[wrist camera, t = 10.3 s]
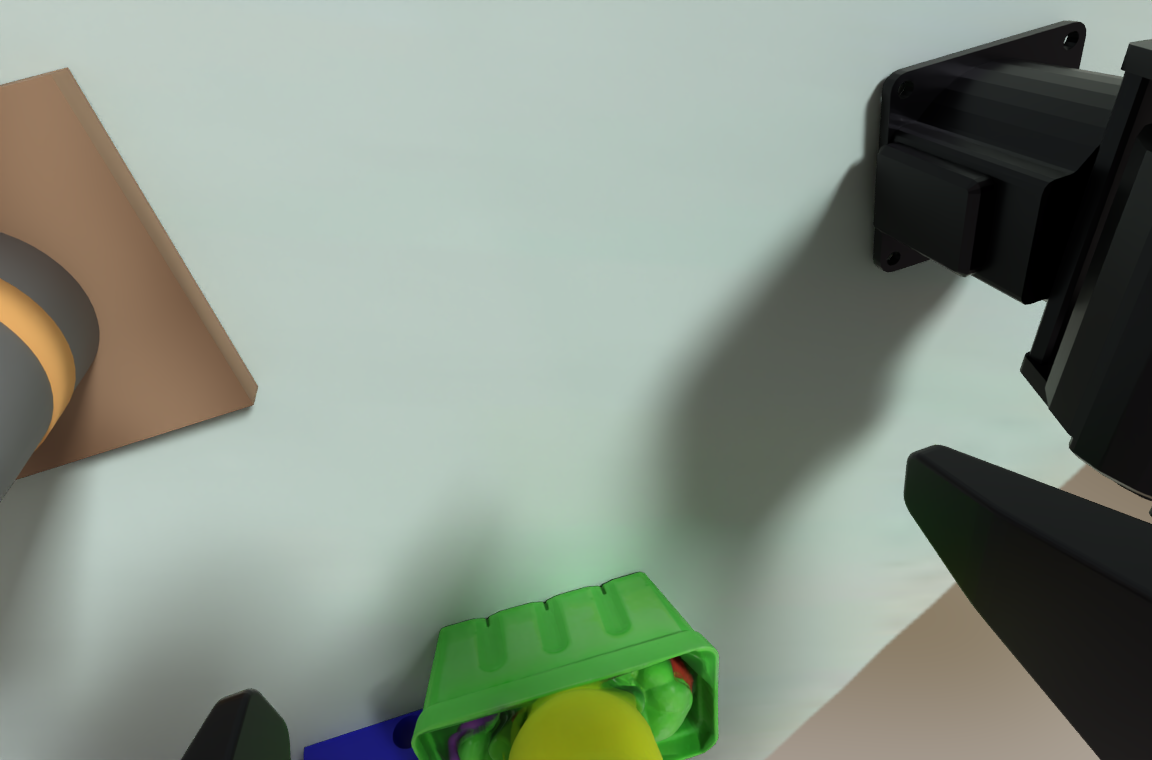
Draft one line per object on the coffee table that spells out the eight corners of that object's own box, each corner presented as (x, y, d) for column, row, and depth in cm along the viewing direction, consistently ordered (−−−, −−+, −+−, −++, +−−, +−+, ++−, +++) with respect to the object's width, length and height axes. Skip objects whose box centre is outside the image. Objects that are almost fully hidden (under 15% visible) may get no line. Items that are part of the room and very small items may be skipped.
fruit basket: (442, 720, 31) (473, 1042, 22) (391, 597, 26) (403, 947, 17) (674, 648, 33) (793, 920, 24) (667, 519, 28) (814, 801, 19)
